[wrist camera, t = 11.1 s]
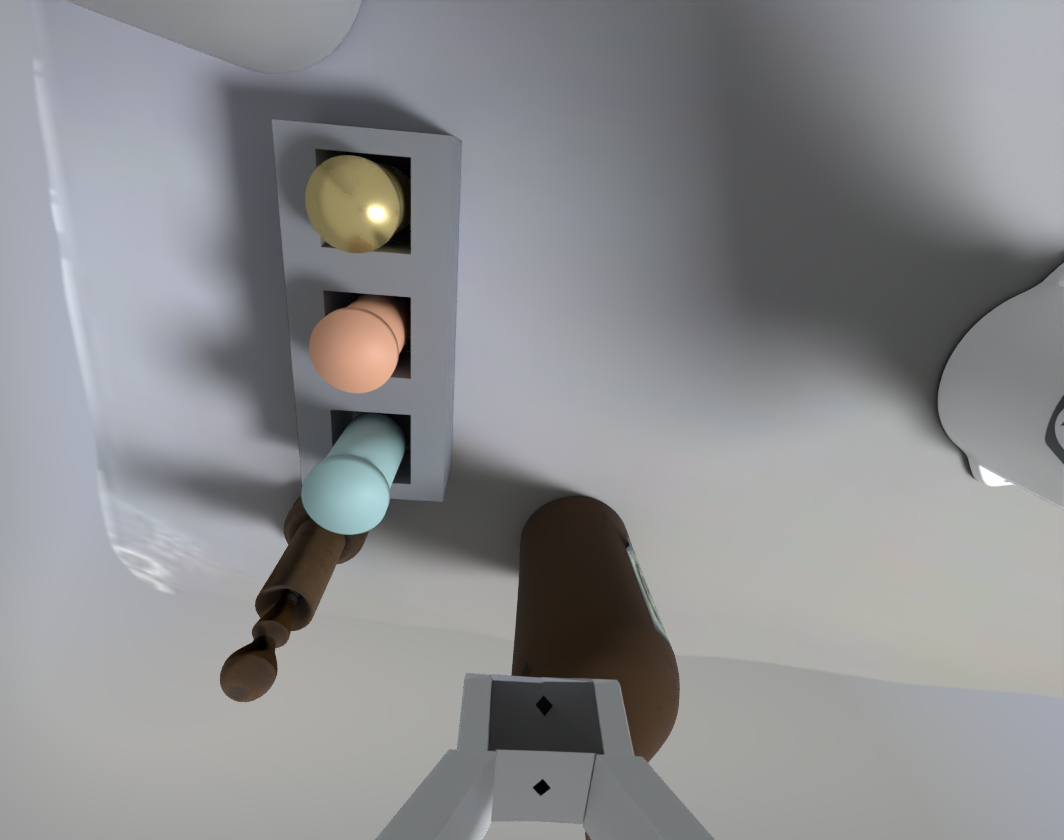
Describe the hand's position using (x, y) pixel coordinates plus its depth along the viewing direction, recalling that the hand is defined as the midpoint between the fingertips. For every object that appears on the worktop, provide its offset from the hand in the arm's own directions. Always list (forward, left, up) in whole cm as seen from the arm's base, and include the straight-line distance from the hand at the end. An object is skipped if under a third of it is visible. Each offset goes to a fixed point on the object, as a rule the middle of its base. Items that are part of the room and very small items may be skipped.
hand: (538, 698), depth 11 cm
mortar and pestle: (+15, +19, -34) cm, 42 cm away
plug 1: (+10, -7, -33) cm, 35 cm away
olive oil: (-6, +20, -34) cm, 40 cm away
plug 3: (+10, +9, -29) cm, 32 cm away
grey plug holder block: (+10, +1, -34) cm, 36 cm away
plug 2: (+10, +1, -32) cm, 34 cm away
